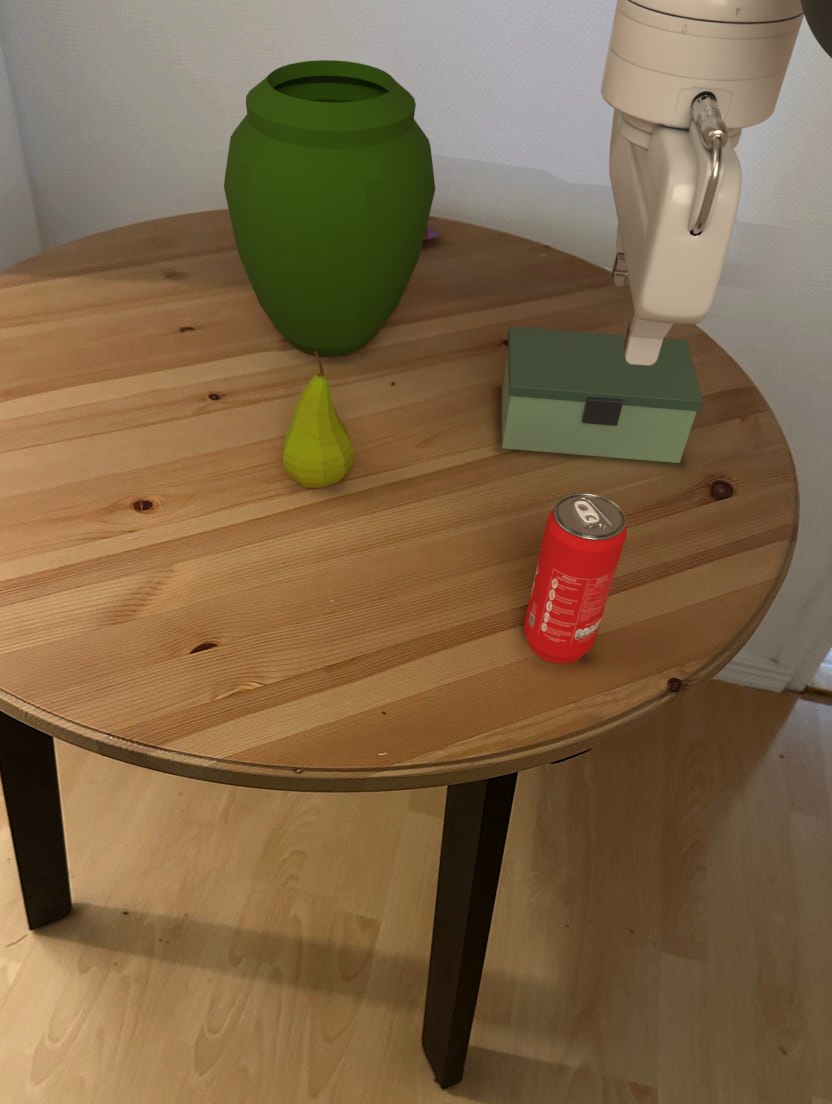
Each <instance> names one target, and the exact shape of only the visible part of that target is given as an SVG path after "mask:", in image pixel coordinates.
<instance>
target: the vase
mask: <svg viewBox="0 0 832 1104" xmlns="http://www.w3.org/2000/svg"><path fill="white" fill-rule="evenodd" d="M416 106H417V103H416V100H415V98H414V96H413V95H412V93H410V92H409V91H408V90H407V89H406V88H405V87H404V86H402V84H400V83H399V82H398V81H396V79H394V77H393V76H392V75H391V74H389V73H388V72H386V71H385V70H383V69H381V68H378V67H375V66H372V65H369V64H364V63H360V62H353V61H347V60H335V59H334V60H333V59H332V60H331V59H329V60H328V59H327V60H326V59H321V60H307V61H305V60H304V61H298V62H294V63H289V64H286V65H283V66H280V67H277V68H276V69H274V70H273V71H271V72H270V73H269V74H268V75H267V76H266V77H264V78H263V79H262V80H261V81H260V82H259V83H257V84H255V86H254V87H252V88H251V89H250V90H249V91H248V93H247V94H246V97H245V107H246V115H244V117H243V118H242V120H241V121H240V122H239V124H238V125H237V127H236V128H235V129H234V130H233V132H232V134H231V135H230V138H229V146H228V152H227V158H226V159H227V160H226V165H225V166H226V167H225V174H224V180H223V181H224V182H223V189H224V194H225V199H226V204H227V208H228V213H229V218H230V222H231V227H232V231H233V236H234V241H235V246H236V250H237V253H238V256H239V258H240V261H241V263H242V266H243V268H244V270H245V274H246V276H247V277H248V278H247V279H248V280H249V282H250V285H251V287H252V290H253V293H254V294H255V297H256V300H257V302H258V304H259V306H260V307H261V309H262V310H263V312H264V314H265V315H266V316H267V318H268V319H269V321H270V322H271V324H272V325H273V327H274V328H275V329H276V330H277V332H278V333H279V334H280V335H281V336H282V337H283V338H284V339H285V340H286V341H287V342H288V343H289V344H290V345H291V346H293V348H295V349H297V350H298V351H301V352H303V353H306V354H308V355H313V356H315V354H314V352H315V351H317V354H318V356H319V357H341V356H345V355H349V354H353V353H355V352H358V351H359V350H361V349H363V348H364V347H365V346H366V345H367V344H368V343H370V341H372V340H373V339H374V338H375V337H376V336H377V335H378V334H379V333H380V331H381V330H382V329H383V327H384V325H385V324H386V323H387V322H388V320H389V319H390V318H391V316H392V315H393V314H394V312H395V310H396V309H397V308H398V306H399V305H400V302H401V300H402V297H403V296H404V293H405V292H406V289H407V287H408V284H409V282H410V279H411V277H412V276H413V273H414V271H415V269H416V267H417V264H418V262H419V259H420V256H421V252H422V248H423V243H424V241H423V239H424V235H425V231H426V227H427V224H429V223H428V221H429V218H430V214H431V209H432V205H433V201H434V198H435V193H436V183H435V174H434V164H433V156H432V147H431V143H430V139H429V138H428V137H427V135H426V134H425V132H424V131H423V129H422V128H421V126H420V125H419V124H418V123H417V121H416V119H415V113H416Z"/></svg>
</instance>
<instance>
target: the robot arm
mask: <svg viewBox="0 0 832 1104" xmlns="http://www.w3.org/2000/svg"><path fill="white" fill-rule="evenodd" d="M614 11H615V12H614V17H613V21H612V27H611V32H610V37H609V43H608V47H607V48H608V49H607V53H606V57H605V58H606V59H605V63H604V64H605V65H604V70H603V74H602V78H601V85H600V95H601V97H602V99H603V100H604V102H606V103H607V104H608V105H609V106H610V107H612V108H613V116H612V123H611V124H612V125H611V132H610V141H609V145H610V146H609V158H608V172H609V180H610V185H611V190H612V195H613V200H614V206H615V212H616V218H617V229H616V230H617V231H616V242H615V243H616V244H615V252H614V257H613V260H612V265H611V276H612V281H613V283H614V286H616V287H619V288H624V287H627V288H629V289H630V294H631V299H632V306H633V311H634V315H633V318H632V321H631V322H629V323H628V325H627V329H626V334H625V335H626V339H625V341H624V351H625V358H626V361H627V362H628V363H629V364H634V365H646V366H649V365H652V364H654V363H655V362H656V361H657V359H658V356H659V352H660V349H661V345H662V342H663V339H664V338H666V337H667V335H668V333H669V331H670V330H671V329H672V327H673V325H675V324H676V325H697V324H700V323H701V322H702V321H704V319H705V318H706V317H707V315H708V314H709V312H710V310H711V309H712V306H713V304H714V301H715V298H716V294H717V291H718V288H719V284H720V280H721V276H722V273H723V269H724V265H725V261H726V257H727V253H728V250H729V246H730V242H731V239H732V235H733V230H734V227H735V222H736V218H737V213H738V209H739V205H740V204H739V203H740V199H741V192H742V191H741V190H742V185H743V184H742V183H743V173H742V172H743V171H742V166H741V162H740V160H739V157H738V155H737V152H736V150H735V148H736V147H737V146H738V144H739V142H740V139H741V135H742V133H743V129H746V128H750V127H753V126H757V125H759V124H762V123H764V122H765V121H767V120H769V118H771V116H772V115H773V114H774V112H775V110H776V106H777V102H778V101H779V100H778V99H779V96H780V93H781V90H782V87H783V83H784V80H785V77H786V73H787V71H788V68H789V64H790V62H791V58H792V55H793V52H794V48H795V45H796V42H797V39H798V36H799V34H800V33H799V32H800V30H801V27H802V23H803V20H804V18H805V20H806V23H807V25H808V27H809V30H810V31H811V33H812V35H813V37H814V38H815V40H816V41H817V43H818V44H819V46H820V47H821V48H822V50H823V51H824V52H825V53H826V54H827V55H828V56H829V58H831V59H832V0H616V6H615V10H614Z"/></svg>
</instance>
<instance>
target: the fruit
mask: <svg viewBox="0 0 832 1104" xmlns="http://www.w3.org/2000/svg"><path fill="white" fill-rule="evenodd" d="M314 354H315V355H314V356H315V358H316V361H317V364H318V367H319V372H317V373H315V374H314V375H313V376H312V378H311V379H310V381H309V382H308V384H307V385H305V387H304V389H302V391H301V393H300V395H299V397H298V399H297V401H296V404H295V406H294V409H293V412H292V415H291V419H290V423H289V426H288V429H287V432H286V434H285V436H284V438H283V442H282V462H283V469H284V471H285V473H286V475H287V476H288V477H289V478H290V479H291V480H292V481H294V482H296V483H297V484H298V485H300V486H302V487H303V488H308V489H323V488H325V487H329V486H332V485H335V484H337V483H339V482H341V481H342V480H343V479H344V477H345V476H346V475H347V474H348V473H349V472H350V471H351V470H352V468H353V466H354V463H355V449H354V446H353V442H352V440H351V437H350V433H349V430H348V429H347V427H346V425H345V423H344V422H343V421H342V420H341V418H340V417H339V414H338V412H337V410H336V408H335V405H334V401H333V396H332V392H331V387H330V384H329V382H328V379H327V377H326V375H325V371H324V367H323V364H322V361H321V359H320V358H321V357H320V356H318V354H317V351H315V352H314Z"/></svg>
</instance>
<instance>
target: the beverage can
mask: <svg viewBox="0 0 832 1104" xmlns="http://www.w3.org/2000/svg"><path fill="white" fill-rule="evenodd" d="M627 534H628V528H627V517H626V514H625V512H624V510H623V509H622V508H621V506H619V505H618V504H617V503H616V502H614V501H613V500H610V499H609V498H607V497H604V496H601V495H598V494H593V493H584V492H582V493H580V492H579V493H573V494H568V495H566V496H563V497H562V498H560V499H559V500H558V501H556V503H555V504H554V506H553V509H552V510H551V511H550V513H549V514H548V515H547V519H546V524H545V528H544V533H543V536H542V541H541V547H540V550H539V555H538V559H537V565H536V569H535V573H534V577H533V583H532V586H531V592H530V596H529V601H528V605H527V610H526V615H525V619H524V623H523V624H524V625H523V629H524V636H526V640H527V645H528V648H529V649H530V651H531V652H532V653H533V654H534V655H535V656H537V658H539V659H541V660H543V661H545V662H548V663H551V664H557V665H567V664H573V663H575V662H577V661H579V660H580V659H582V658H583V657H584V656H585V654H586V653H588V652H589V651H590V650H591V649H592V647H593V646H594V645H595V642H596V638H597V636H598V632H599V629H600V625H601V622H602V619H603V616H604V612H605V609H606V605H607V602H608V599H609V594H610V592H611V589H612V585H613V582H614V579H615V575H616V573H617V569H618V565H619V562H620V559H621V555H622V552H623V549H624V545H625V542H626V539H627V536H628V535H627Z"/></svg>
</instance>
